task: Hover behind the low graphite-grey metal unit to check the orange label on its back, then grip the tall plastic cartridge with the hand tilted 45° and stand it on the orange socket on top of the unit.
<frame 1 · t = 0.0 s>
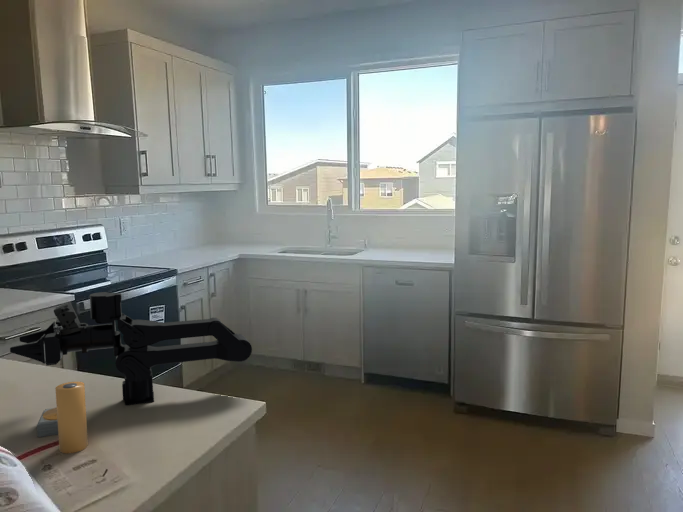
hand: (15, 344, 116), 16 cm above the worktop, tool horizontal, fingers open, 9 cm apart
unit: (62, 426, 112), on the worktop
cartridge: (73, 447, 102), on the worktop
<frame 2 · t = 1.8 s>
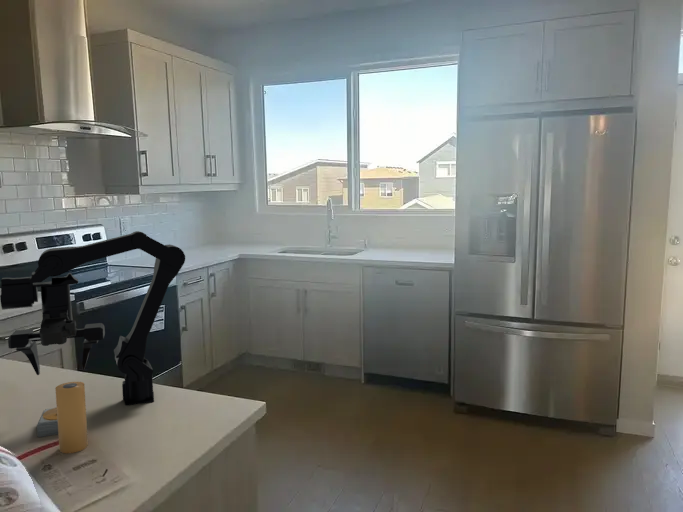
hand: (61, 371, 118), 9 cm above the worktop, tool pointing down, fingers open, 9 cm apart
nothing on the worktop moved.
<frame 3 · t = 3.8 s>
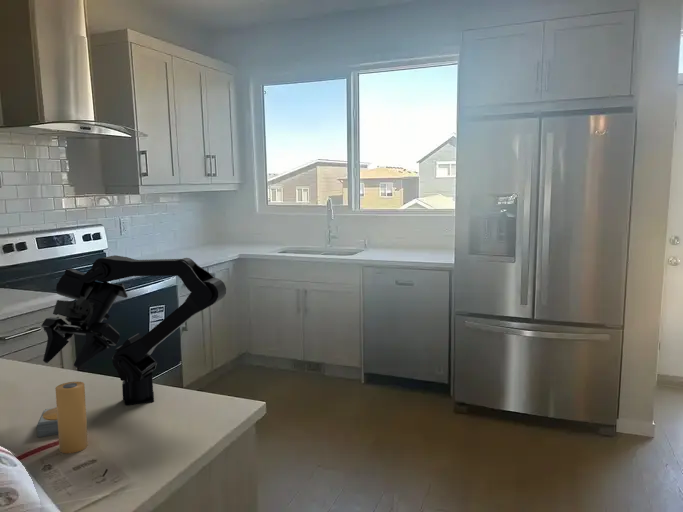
hand: (60, 364, 114), 12 cm above the worktop, tool tilted 45°, fingers open, 9 cm apart
nothing on the worktop moved.
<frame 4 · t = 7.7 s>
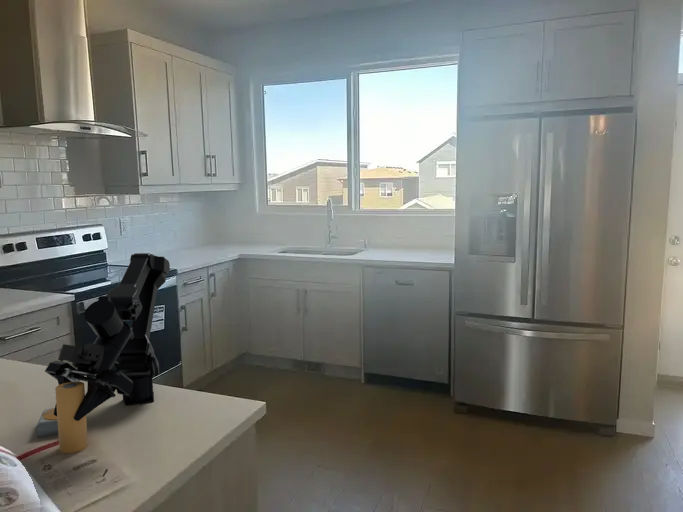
hand: (65, 417, 100), 7 cm above the worktop, tool tilted 45°, fingers closed on cartridge, 5 cm apart
cartridge: (73, 447, 102), on the worktop, touching gripper
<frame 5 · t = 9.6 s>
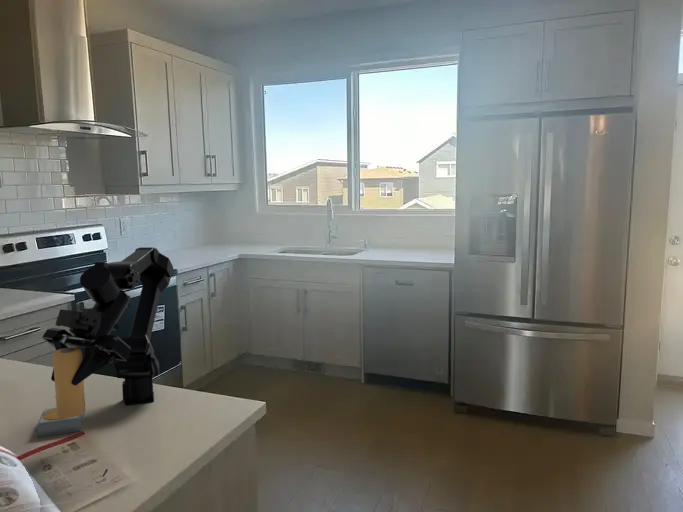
hand: (63, 382, 100), 13 cm above the worktop, tool tilted 45°, fingers closed on cartridge, 5 cm apart
cartridge: (71, 412, 102), point 7 cm above the worktop, touching gripper
when the fingers open (11 cm above the worktop, at t = 11.7 s): cartridge drops 1 cm, resting on unit.
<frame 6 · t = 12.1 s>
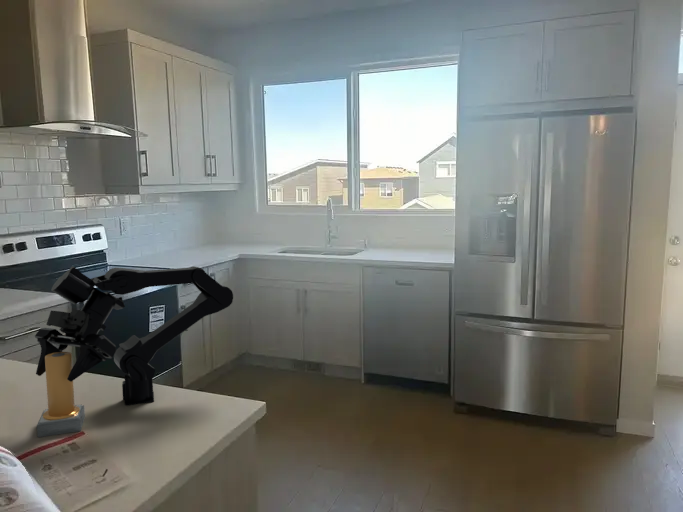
hand: (53, 377, 109), 11 cm above the worktop, tool tilted 45°, fingers open, 9 cm apart
cartridge: (61, 411, 112), point 3 cm above the worktop, touching unit
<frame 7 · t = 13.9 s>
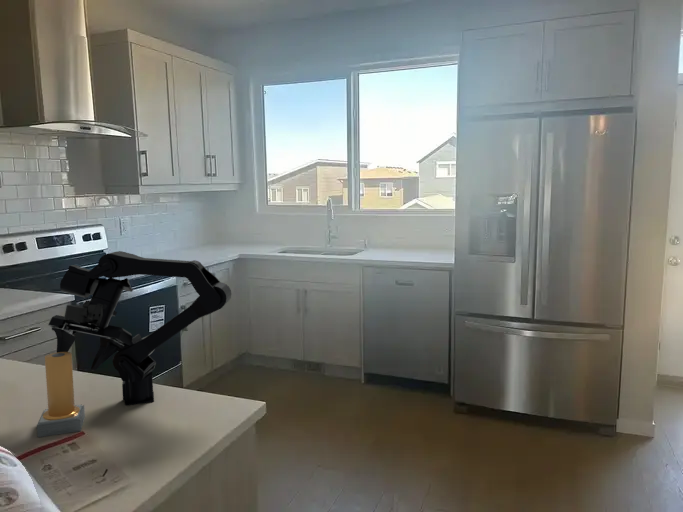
hand: (74, 366, 116), 11 cm above the worktop, tool tilted 35°, fingers open, 9 cm apart
nothing on the worktop moved.
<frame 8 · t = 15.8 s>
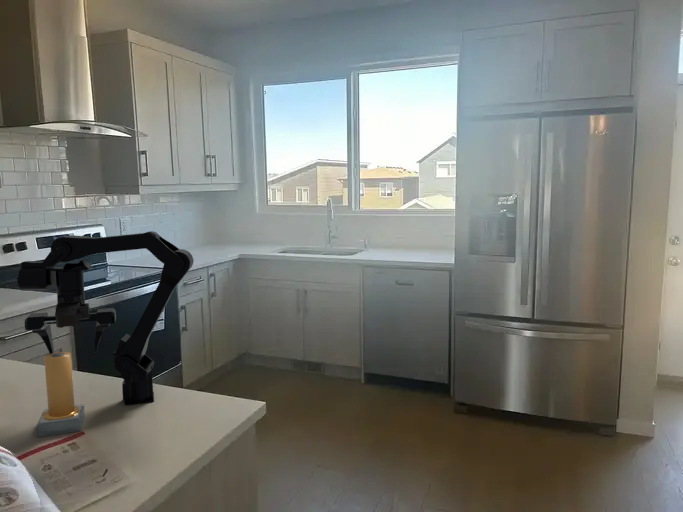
hand: (74, 354, 124), 12 cm above the worktop, tool pointing down, fingers open, 9 cm apart
nothing on the worktop moved.
at the end: cartridge 0.1 cm off-centre on the unit, point 3.2 cm above the unit's base; cartridge tilted 0°; the gripper is holding nothing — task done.
